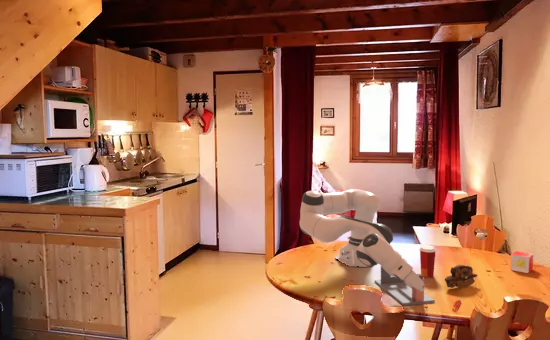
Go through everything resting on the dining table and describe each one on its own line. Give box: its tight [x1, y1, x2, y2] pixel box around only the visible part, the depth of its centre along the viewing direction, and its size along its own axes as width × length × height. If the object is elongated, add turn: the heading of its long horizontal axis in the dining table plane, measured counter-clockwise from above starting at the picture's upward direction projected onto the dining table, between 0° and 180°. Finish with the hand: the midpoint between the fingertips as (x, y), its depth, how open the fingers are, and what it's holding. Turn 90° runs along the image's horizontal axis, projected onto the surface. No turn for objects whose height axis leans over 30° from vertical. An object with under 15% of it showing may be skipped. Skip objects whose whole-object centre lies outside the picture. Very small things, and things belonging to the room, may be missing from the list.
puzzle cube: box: [510, 250, 534, 274], centre depth 222 cm, size 8×8×8 cm
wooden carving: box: [444, 264, 478, 289], centre depth 199 cm, size 16×5×10 cm, turn 114°
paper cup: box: [418, 245, 437, 278], centre depth 215 cm, size 8×8×14 cm
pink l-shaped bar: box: [398, 273, 425, 302], centre depth 189 cm, size 19×4×10 cm, turn 11°
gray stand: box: [374, 265, 436, 306], centre depth 195 cm, size 28×14×9 cm, turn 11°
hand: (417, 286), depth 182 cm, fingers open, 7 cm apart
